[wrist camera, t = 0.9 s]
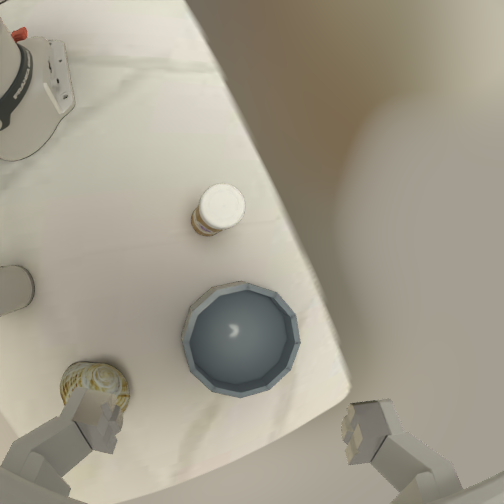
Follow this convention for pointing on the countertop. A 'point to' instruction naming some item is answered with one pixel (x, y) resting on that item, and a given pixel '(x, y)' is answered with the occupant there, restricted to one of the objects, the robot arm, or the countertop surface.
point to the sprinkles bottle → (218, 209)
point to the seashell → (95, 381)
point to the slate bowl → (240, 339)
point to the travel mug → (15, 288)
